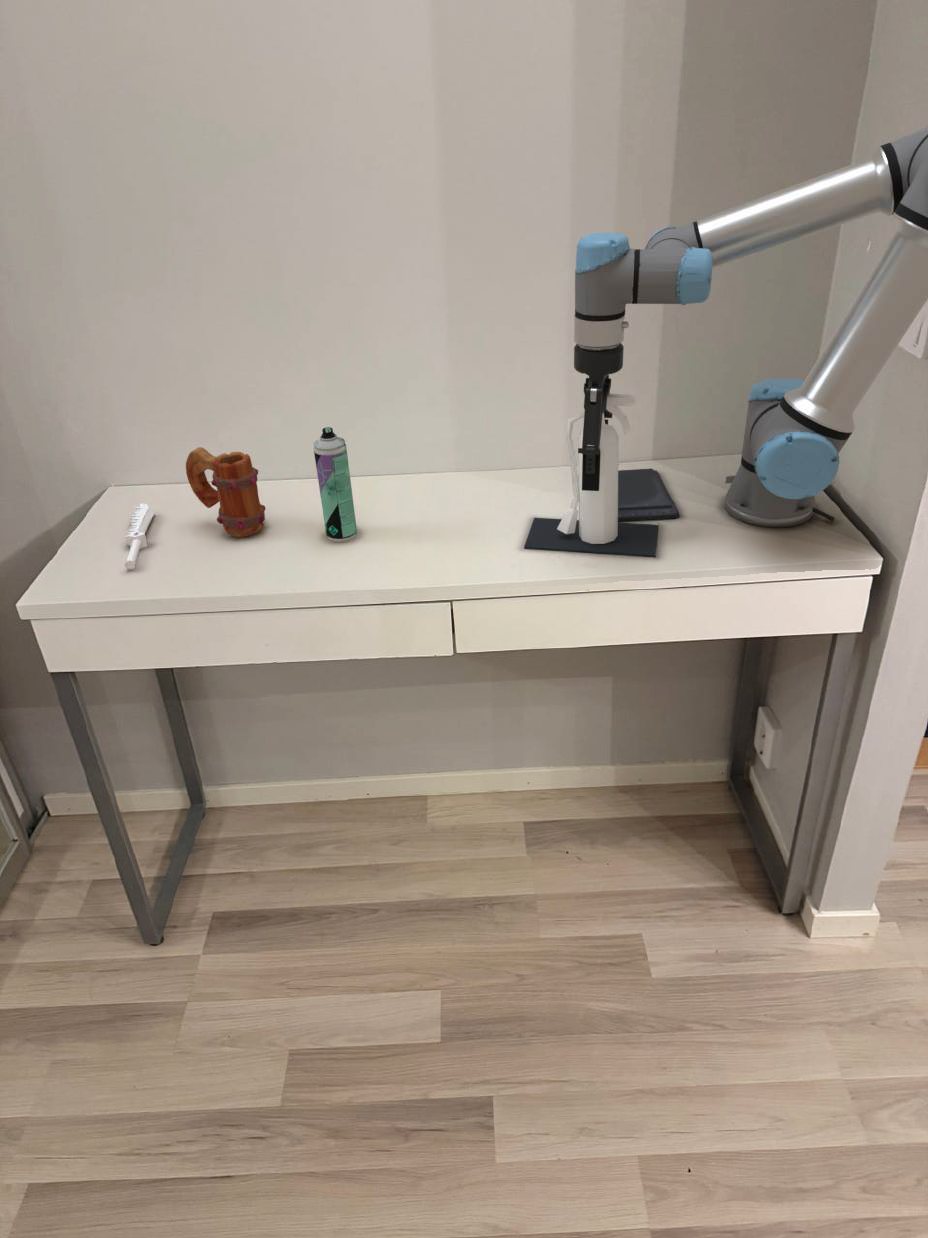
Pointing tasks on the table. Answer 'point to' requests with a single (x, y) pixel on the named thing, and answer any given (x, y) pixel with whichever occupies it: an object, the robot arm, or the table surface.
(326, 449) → the spray can
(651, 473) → the wallet
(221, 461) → the mug
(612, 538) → the fire extinguisher
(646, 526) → the mat
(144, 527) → the toy saw sword
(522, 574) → the table surface
